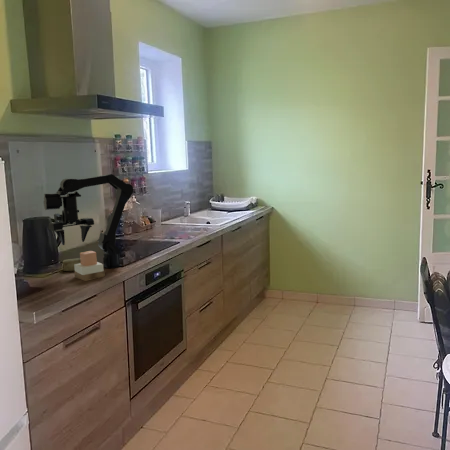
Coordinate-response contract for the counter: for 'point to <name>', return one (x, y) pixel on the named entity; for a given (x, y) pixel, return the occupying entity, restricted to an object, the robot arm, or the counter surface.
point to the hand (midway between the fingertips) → (73, 243)
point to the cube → (88, 258)
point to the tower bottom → (89, 275)
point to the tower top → (88, 268)
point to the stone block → (70, 264)
